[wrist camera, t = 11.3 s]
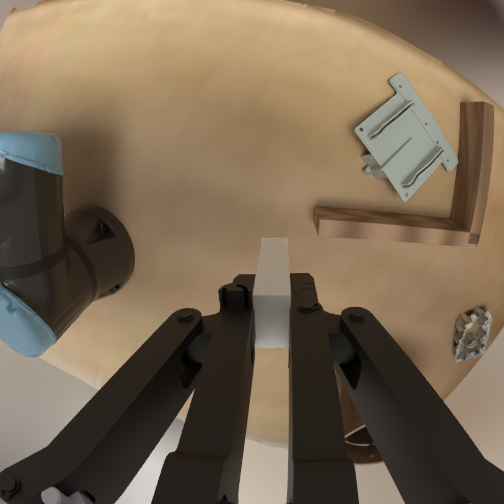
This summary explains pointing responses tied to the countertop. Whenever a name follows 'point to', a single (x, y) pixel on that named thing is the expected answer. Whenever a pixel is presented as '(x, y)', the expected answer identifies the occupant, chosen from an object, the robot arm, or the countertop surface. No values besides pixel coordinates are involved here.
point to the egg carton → (471, 344)
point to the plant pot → (356, 432)
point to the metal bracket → (404, 140)
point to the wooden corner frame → (429, 228)
